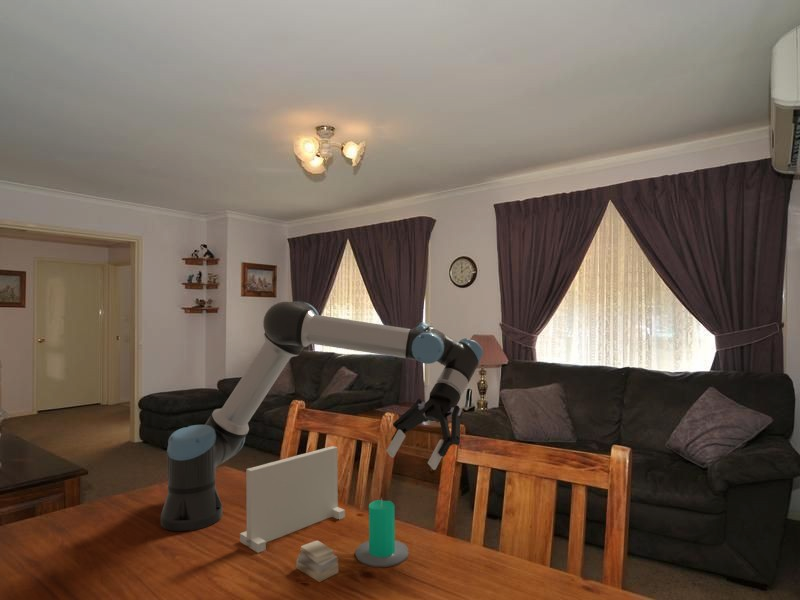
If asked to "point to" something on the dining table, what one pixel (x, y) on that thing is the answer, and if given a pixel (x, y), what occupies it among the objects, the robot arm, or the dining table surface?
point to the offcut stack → (317, 561)
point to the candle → (381, 528)
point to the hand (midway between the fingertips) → (409, 460)
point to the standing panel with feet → (290, 496)
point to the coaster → (388, 561)
